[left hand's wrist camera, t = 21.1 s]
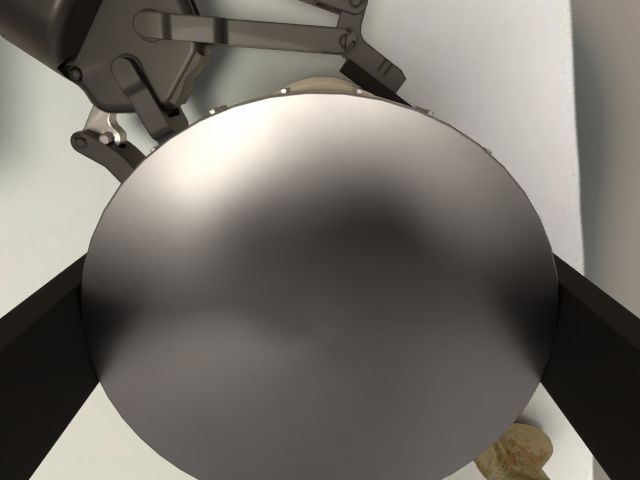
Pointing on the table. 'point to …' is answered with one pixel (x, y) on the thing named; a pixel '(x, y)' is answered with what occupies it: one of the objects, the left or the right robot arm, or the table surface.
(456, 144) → the lid
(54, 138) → the table surface
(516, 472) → the sculpture
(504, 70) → the table surface
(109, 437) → the table surface
